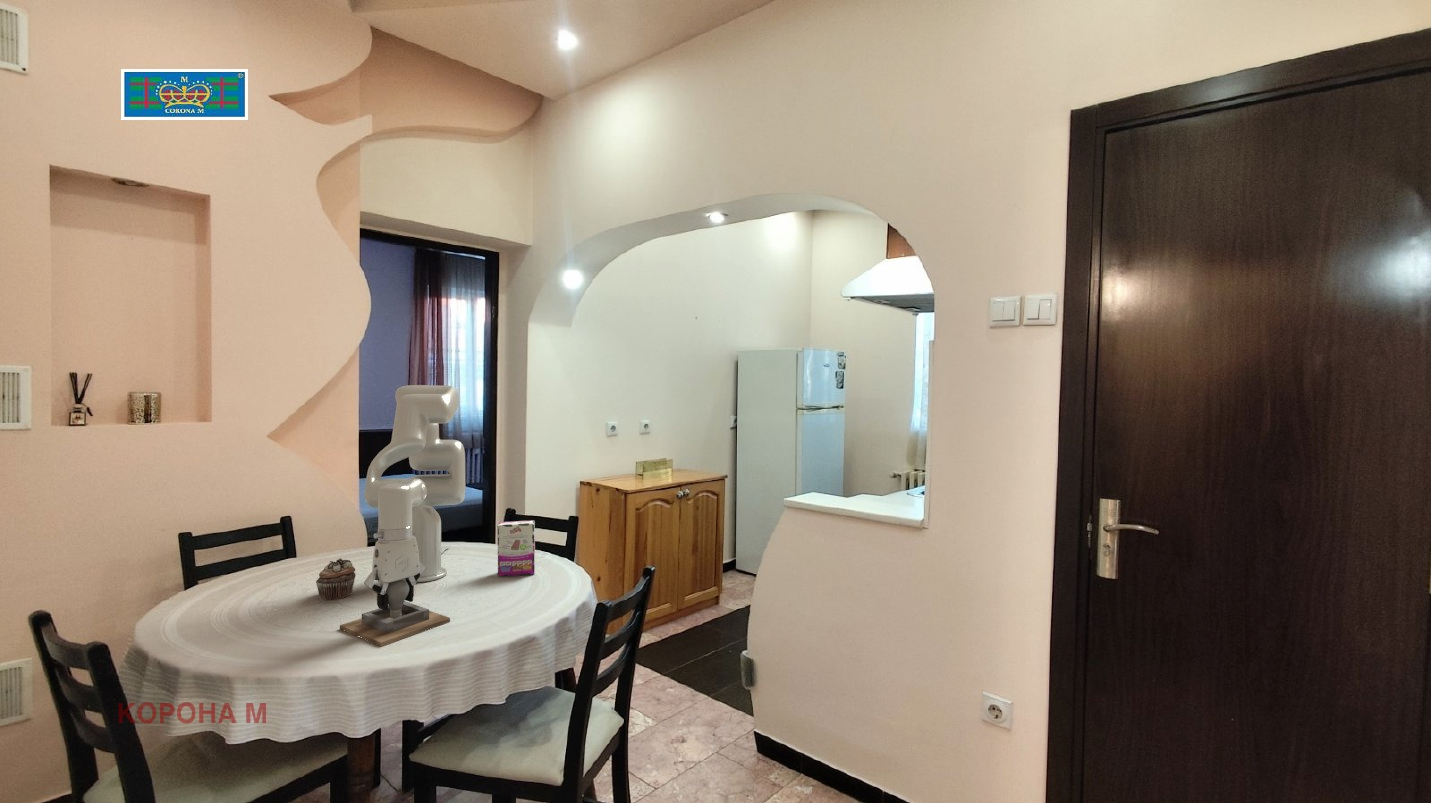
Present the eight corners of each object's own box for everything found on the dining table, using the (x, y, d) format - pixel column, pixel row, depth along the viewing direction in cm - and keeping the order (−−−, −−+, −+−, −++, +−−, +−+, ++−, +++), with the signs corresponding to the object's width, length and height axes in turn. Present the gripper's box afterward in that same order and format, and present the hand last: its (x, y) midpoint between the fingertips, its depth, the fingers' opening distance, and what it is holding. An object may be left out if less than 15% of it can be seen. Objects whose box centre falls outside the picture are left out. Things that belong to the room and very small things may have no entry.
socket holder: (339, 629, 156) (339, 615, 156) (408, 607, 172) (408, 594, 172) (381, 646, 147) (381, 631, 147) (450, 621, 162) (450, 608, 162)
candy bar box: (535, 570, 205) (535, 519, 205) (534, 574, 201) (534, 523, 200) (498, 572, 203) (498, 521, 202) (497, 577, 198) (497, 524, 197)
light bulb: (396, 612, 163) (396, 573, 163) (414, 615, 161) (414, 576, 161) (376, 620, 158) (376, 580, 157) (395, 624, 156) (395, 583, 155)
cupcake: (334, 588, 186) (334, 554, 185) (363, 591, 184) (363, 557, 183) (307, 599, 176) (307, 564, 176) (337, 602, 174) (337, 566, 174)
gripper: (369, 543, 149) (370, 619, 150) (435, 528, 164) (436, 597, 165) (352, 538, 153) (352, 612, 154) (418, 524, 168) (418, 591, 169)
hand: (395, 603), depth 159 cm, fingers closed on light bulb, 5 cm apart
